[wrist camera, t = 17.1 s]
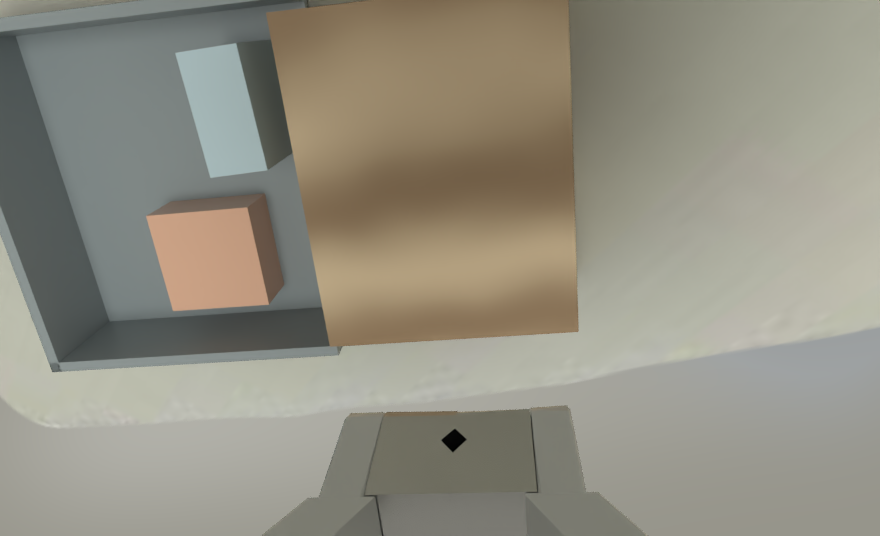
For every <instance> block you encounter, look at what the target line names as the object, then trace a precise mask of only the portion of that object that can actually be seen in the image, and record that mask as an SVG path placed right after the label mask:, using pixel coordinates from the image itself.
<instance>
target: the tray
mask: <svg viewBox="0 0 880 536" xmlns="http://www.w3.org/2000/svg"><path fill="white" fill-rule="evenodd" d="M301 8H308V5H307V0H139V1H131V2H123V3H115V4H107V5H99V6H91V7H83V8H75V9H67V10H59V11H51V12H43V13H35V14H27V15H19V16H11V17H3V18H0V235H1V237H2V240H3V243H4V245H5V248H6V251H7V253H8V256H9V259H10V261H11V264H12V266H13V269H14V272H15V274H16V277H17V280H18V282H19V285H20V288H21V290H22V293H23V296H24V298H25V301H26V303H27V306H28V309H29V311H30V314H31V317H32V319H33V322H34V325H35V327H36V330H37V333H38V335H39V338H40V341H41V343H42V346H43V348H44V351H45V354H46V356H47V359H48V362H49V364H50V367H51V370H52V372H62V371H79V370H96V369H113V368H130V367H147V366H164V365H181V364H198V363H215V362H232V361H249V360H266V359H283V358H300V357H317V356H334V355H339V353H340V351H341V349H342V346H335V347H330V344H329V339H328V334H327V329H326V323H325V318H324V313H323V308H322V303H321V297H320V292H319V287H318V282H317V277H316V271H315V266H314V261H313V256H312V250H311V245H310V240H309V235H308V230H307V224H306V219H305V214H304V209H303V204H302V198H301V193H300V188H299V183H298V177H297V172H296V167H295V162H294V157H293V153H292V154H290V155H289V156H287V157H286V158H284V159H283V160H282V161H280V162H279V163H277V164H276V165H274V166H273V167H272V168H270V169H269V170H266V171H259V172H251V173H244V174H236V175H229V176H221V177H214V178H210V175H209V171H208V167H207V164H206V160H205V157H204V153H203V150H202V146H201V143H200V139H199V136H198V132H197V129H196V125H195V121H194V118H193V114H192V111H191V107H190V104H189V100H188V97H187V93H186V90H185V86H184V83H183V79H182V75H181V72H180V68H179V65H178V61H177V58H176V54H175V53H178V52H184V51H190V50H196V49H203V48H209V47H215V46H221V45H228V44H234V43H242V42H251V41H260V40H269V39H271V37H270V31H269V26H268V21H267V16H266V13H267V12H275V11H284V10H292V9H301ZM263 193H265V196H266V201H267V206H268V210H269V215H270V220H271V225H272V229H273V234H274V239H275V243H276V248H277V253H278V258H279V262H280V267H281V272H282V276H283V281H284V286H283V287H282V288H281V290H280V291H279V292H278V294H277V295H276V296H275V297H274V299H273V300H272V301H271V303H270V304H269V305H256V306H242V307H227V308H212V309H197V310H182V311H173V309H172V305H171V302H170V298H169V295H168V291H167V288H166V284H165V281H164V277H163V274H162V270H161V267H160V263H159V260H158V256H157V253H156V249H155V246H154V242H153V239H152V235H151V232H150V228H149V225H148V221H147V218H146V216H147V215H148V214H150V213H152V212H154V211H155V210H157V209H159V208H160V207H162V206H164V205H166V204H167V203H169V202H171V201H183V200H194V199H206V198H217V197H229V196H240V195H252V194H263Z"/></svg>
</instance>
